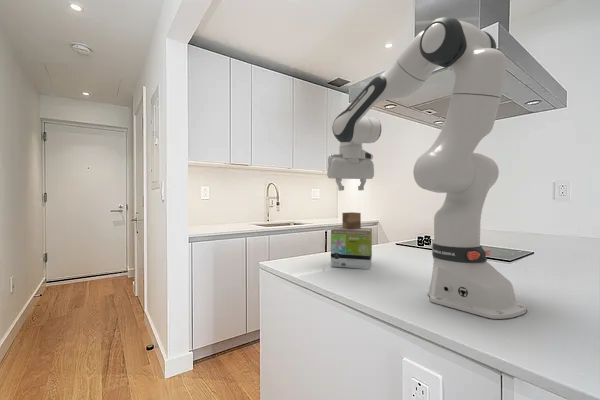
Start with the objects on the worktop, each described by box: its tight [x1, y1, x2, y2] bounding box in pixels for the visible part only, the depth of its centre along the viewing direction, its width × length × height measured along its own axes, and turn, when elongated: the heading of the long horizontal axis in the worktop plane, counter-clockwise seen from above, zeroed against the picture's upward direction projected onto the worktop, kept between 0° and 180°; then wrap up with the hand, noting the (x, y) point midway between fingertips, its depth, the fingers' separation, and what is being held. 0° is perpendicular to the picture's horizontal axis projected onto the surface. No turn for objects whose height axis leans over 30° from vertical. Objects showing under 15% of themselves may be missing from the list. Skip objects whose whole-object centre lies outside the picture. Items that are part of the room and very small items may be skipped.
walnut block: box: [341, 211, 362, 229], centre depth 122 cm, size 5×5×6 cm
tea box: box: [330, 226, 373, 270], centre depth 122 cm, size 15×10×15 cm, turn 73°
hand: (351, 190), depth 122 cm, fingers open, 8 cm apart
